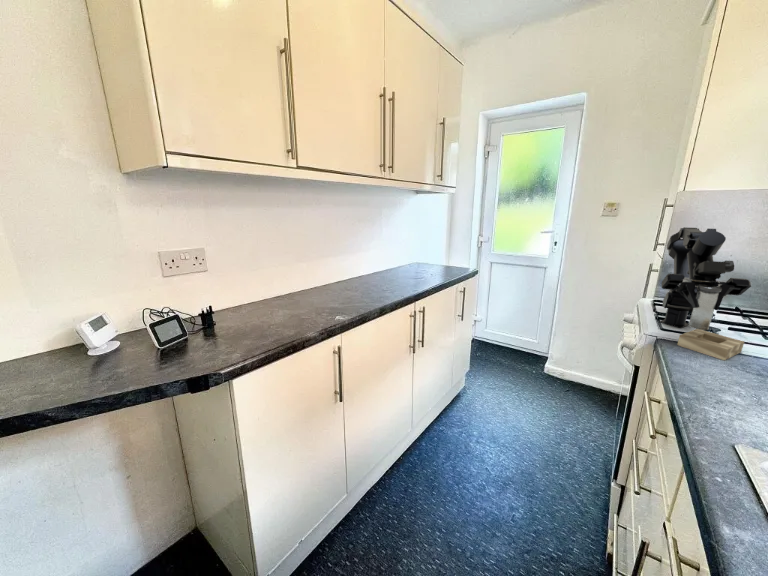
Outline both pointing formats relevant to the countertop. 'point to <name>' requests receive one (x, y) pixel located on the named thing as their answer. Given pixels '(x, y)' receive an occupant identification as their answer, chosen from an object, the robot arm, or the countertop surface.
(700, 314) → the capped cylinder
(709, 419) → the countertop surface
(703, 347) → the housing
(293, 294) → the countertop surface
